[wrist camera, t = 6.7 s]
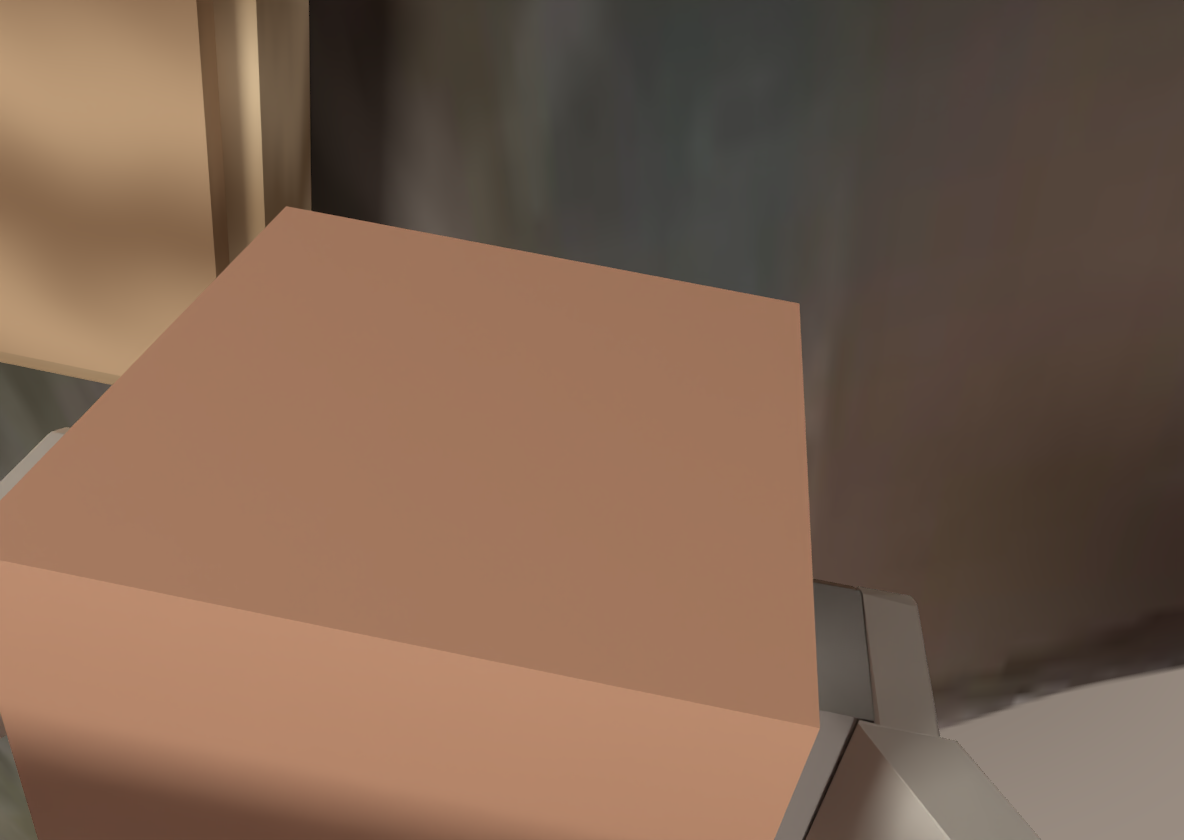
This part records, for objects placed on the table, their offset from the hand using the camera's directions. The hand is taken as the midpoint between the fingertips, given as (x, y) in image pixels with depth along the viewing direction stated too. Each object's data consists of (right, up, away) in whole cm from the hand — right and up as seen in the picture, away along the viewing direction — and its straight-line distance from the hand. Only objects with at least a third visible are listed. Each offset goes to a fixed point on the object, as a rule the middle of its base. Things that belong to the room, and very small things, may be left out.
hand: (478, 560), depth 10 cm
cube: (0, +1, +1) cm, 2 cm away
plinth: (-13, +10, +19) cm, 25 cm away
